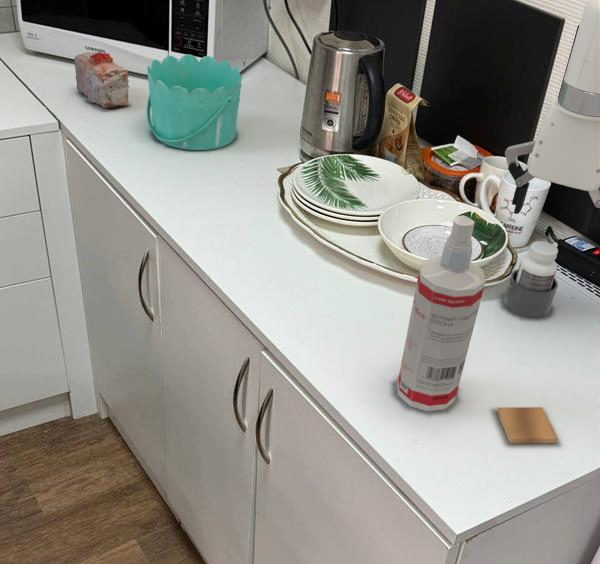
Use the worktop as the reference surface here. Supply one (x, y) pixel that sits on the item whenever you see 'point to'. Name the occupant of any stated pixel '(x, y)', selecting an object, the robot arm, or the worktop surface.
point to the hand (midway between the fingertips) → (550, 219)
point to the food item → (101, 79)
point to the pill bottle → (538, 267)
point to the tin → (528, 299)
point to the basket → (193, 102)
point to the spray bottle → (441, 323)
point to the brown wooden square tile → (526, 425)
